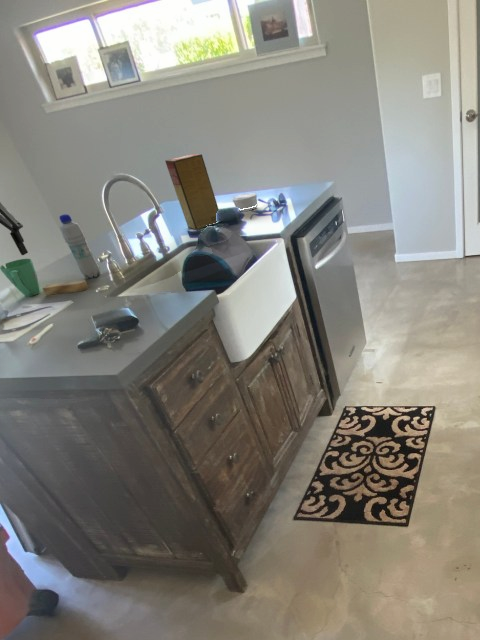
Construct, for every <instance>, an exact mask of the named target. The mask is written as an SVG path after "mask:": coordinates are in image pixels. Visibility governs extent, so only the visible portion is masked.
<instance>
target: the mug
mask: <svg viewBox="0 0 480 640" xmlns="http://www.w3.org/2000/svg"><path fill="white" fill-rule="evenodd" d="M0 271H1V272H2V273H3V275H4V276H5V278H7V279H8V281H9V282H10V283H11V284H12V285H13V286H14V287H15V288H16V289H17V290H18V292H20V293H21V294H22V295H23V296H25V297H32V296H36V295H38V294H40V293H41V289H40V282H39V279H38V275H37V271H36V269H35V266H34V263H33V261H32V259H31V258H21V259H16V260H12V261H8V262H6V263H5V266H4V265H3V264H2V265H0Z"/></svg>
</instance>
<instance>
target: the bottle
mask: <svg viewBox="0 0 480 640" xmlns="http://www.w3.org/2000/svg"><path fill="white" fill-rule="evenodd" d="M59 221H60V223H61V225H60V227H59V230H60V232H61V235H62V238H63V240H64V242H65V243H66V244H67V246H68V247H69V250H70V251H71V253H72V255H73V258H74V260H75V261H76V264H77V266H78V269H79V271H80V272H81V274H82V276H83V277H84V278H85V279H93V276H94V277H95V278H98V276H101V268H100V267H99V264H98V262H97V261H96V258H95V256H94V255H93V252H92V251H91V249H90V247H89V244H88V242H87V240H86V236H85V233H84V231H83V230H82V228H81V226H80V225H79V223H78V222H74V221H73V219H72V217H71V216H70V215H69V214H67V213H65V214H61V215H60V216H59Z"/></svg>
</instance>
